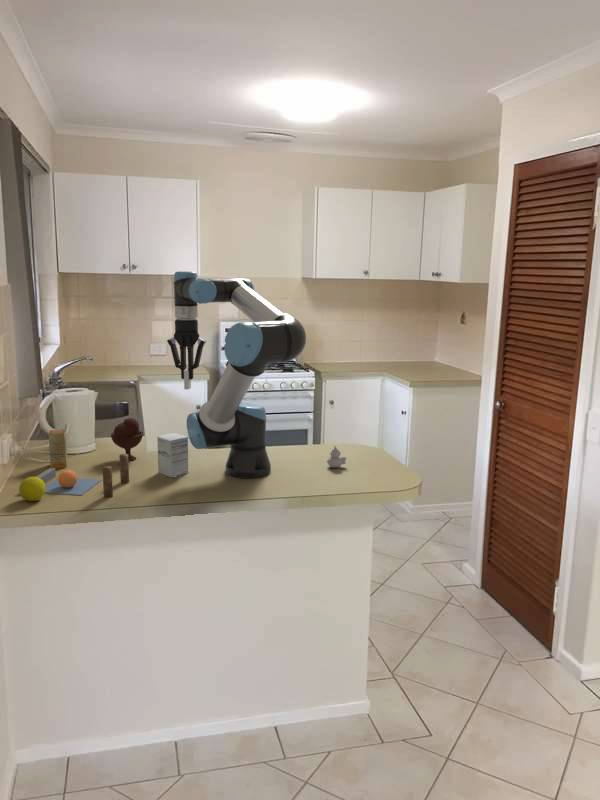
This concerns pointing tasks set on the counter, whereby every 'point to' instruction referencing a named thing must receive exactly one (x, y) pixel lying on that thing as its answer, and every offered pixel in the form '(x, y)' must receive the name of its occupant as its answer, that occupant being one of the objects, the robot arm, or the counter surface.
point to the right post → (124, 468)
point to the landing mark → (77, 489)
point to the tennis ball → (32, 489)
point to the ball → (67, 479)
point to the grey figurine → (336, 458)
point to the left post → (107, 482)
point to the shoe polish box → (58, 448)
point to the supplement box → (172, 454)
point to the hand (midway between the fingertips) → (187, 388)
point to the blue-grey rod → (47, 475)
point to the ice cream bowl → (127, 436)
